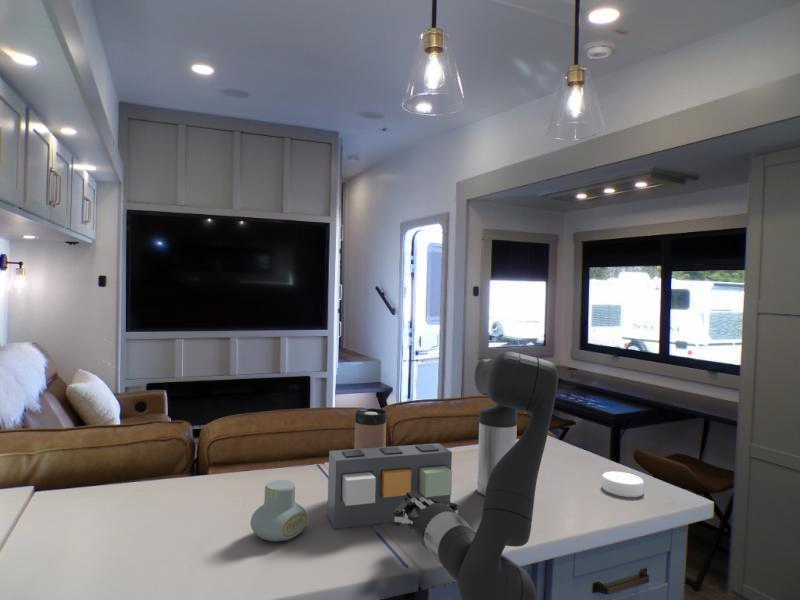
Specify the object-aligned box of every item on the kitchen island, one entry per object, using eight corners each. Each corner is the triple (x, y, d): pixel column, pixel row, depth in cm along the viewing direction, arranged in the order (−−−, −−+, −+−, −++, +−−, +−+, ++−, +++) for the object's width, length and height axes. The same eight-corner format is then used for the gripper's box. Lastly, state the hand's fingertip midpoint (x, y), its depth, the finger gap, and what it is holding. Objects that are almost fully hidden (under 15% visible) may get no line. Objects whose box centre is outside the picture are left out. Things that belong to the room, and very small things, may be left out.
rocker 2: (438, 483, 116) (438, 461, 116) (451, 494, 110) (452, 471, 110) (413, 485, 114) (414, 463, 114) (425, 497, 108) (426, 473, 108)
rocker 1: (365, 490, 111) (366, 467, 111) (375, 502, 104) (375, 478, 104) (338, 492, 109) (339, 469, 109) (346, 505, 102) (346, 480, 102)
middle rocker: (399, 483, 115) (400, 461, 115) (410, 494, 109) (411, 471, 109) (374, 485, 113) (374, 463, 113) (383, 497, 107) (384, 473, 107)
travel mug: (380, 501, 120) (382, 416, 120) (348, 498, 121) (351, 413, 121) (387, 489, 127) (389, 409, 127) (357, 486, 129) (360, 407, 129)
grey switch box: (437, 503, 120) (439, 441, 120) (449, 515, 113) (451, 450, 113) (327, 515, 111) (329, 449, 111) (334, 529, 105) (336, 459, 105)
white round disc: (601, 494, 130) (601, 480, 130) (601, 481, 139) (602, 468, 139) (644, 501, 126) (645, 486, 126) (642, 487, 135) (642, 474, 135)
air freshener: (273, 552, 95) (275, 498, 95) (242, 540, 99) (244, 488, 99) (313, 530, 104) (314, 481, 104) (283, 520, 108) (284, 473, 108)
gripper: (482, 508, 87) (441, 475, 103) (409, 516, 82) (377, 480, 99) (481, 552, 86) (439, 512, 103) (407, 563, 82) (376, 519, 98)
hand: (409, 496), depth 101 cm, fingers closed
